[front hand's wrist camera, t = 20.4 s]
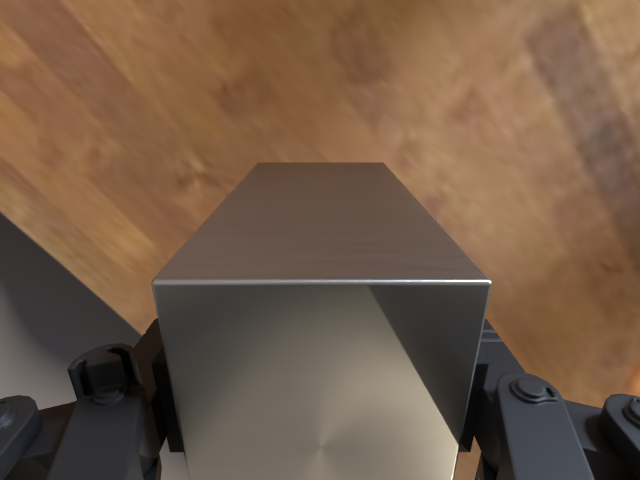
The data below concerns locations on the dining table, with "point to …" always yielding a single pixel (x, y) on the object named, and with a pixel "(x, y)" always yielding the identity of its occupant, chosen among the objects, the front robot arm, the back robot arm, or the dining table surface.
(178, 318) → the grey metallic rectangular block
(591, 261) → the dining table surface
